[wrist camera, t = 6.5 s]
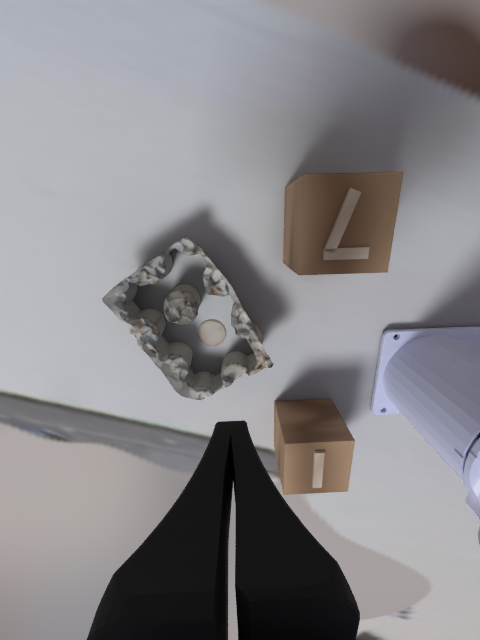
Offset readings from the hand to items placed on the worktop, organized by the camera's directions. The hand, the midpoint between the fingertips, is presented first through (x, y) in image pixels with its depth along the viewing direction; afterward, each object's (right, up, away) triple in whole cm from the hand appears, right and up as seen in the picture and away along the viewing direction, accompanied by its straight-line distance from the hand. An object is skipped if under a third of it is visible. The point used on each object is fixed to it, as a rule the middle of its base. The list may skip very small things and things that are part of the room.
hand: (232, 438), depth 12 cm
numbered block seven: (+6, +12, +6) cm, 15 cm away
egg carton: (-3, +6, +9) cm, 11 cm away
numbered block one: (+6, -4, +12) cm, 14 cm away
